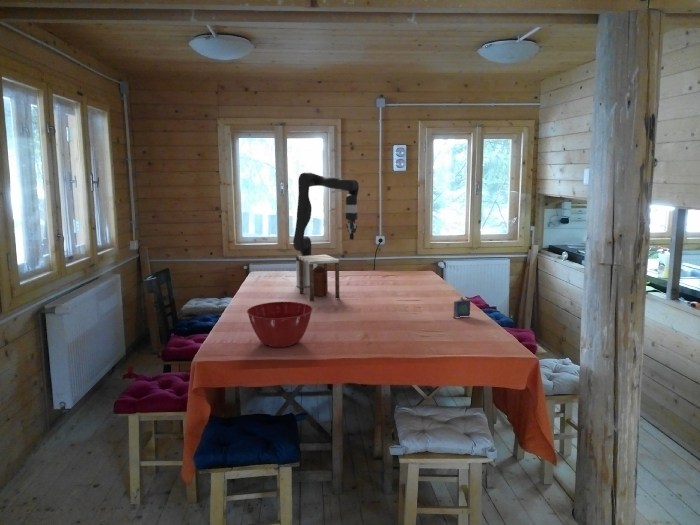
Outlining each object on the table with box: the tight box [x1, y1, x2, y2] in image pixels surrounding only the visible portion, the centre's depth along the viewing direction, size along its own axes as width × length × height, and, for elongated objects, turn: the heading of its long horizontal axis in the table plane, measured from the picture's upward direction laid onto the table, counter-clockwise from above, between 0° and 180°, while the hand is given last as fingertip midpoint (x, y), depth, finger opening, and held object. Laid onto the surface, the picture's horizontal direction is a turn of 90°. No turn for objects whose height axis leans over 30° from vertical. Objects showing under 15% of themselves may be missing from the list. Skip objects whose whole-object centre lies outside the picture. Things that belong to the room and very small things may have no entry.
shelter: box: [299, 254, 340, 302], centre depth 334 cm, size 24×18×24 cm
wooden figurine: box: [313, 266, 328, 297], centre depth 336 cm, size 12×6×18 cm, turn 62°
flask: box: [453, 296, 471, 318], centre depth 282 cm, size 9×3×11 cm, turn 109°
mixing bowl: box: [246, 301, 313, 348], centre depth 241 cm, size 28×28×16 cm
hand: (351, 239), depth 345 cm, fingers closed
